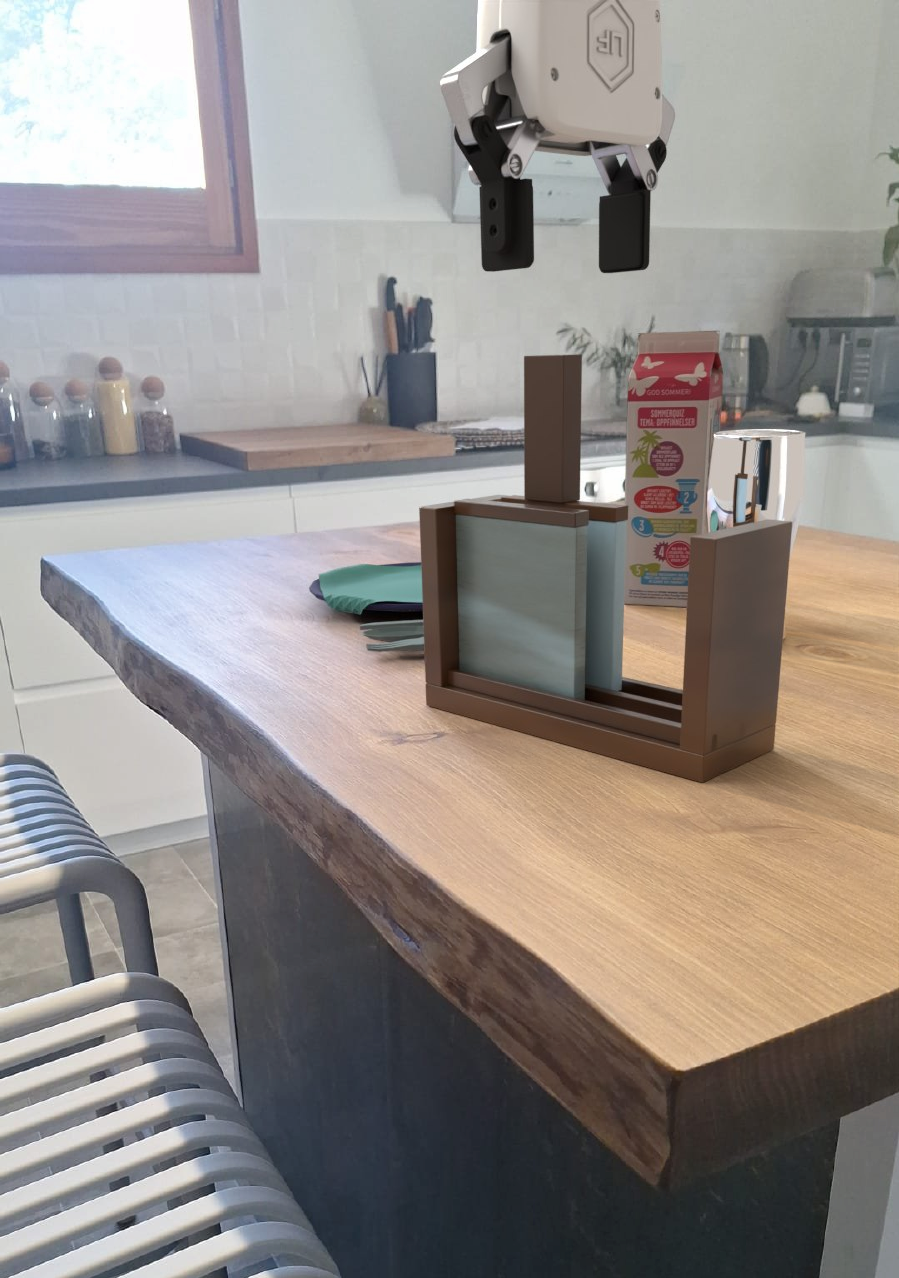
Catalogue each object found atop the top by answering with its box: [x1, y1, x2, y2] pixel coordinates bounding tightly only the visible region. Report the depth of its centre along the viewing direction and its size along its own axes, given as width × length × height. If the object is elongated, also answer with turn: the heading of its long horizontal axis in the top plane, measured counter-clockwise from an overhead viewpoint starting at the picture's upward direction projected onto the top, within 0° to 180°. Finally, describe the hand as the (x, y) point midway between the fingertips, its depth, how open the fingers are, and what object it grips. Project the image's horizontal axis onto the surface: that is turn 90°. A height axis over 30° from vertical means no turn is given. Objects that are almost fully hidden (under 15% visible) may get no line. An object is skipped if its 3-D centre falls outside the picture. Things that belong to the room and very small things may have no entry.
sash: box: [501, 353, 628, 691], centre depth 67 cm, size 2×9×19 cm, turn 44°
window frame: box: [418, 494, 792, 783], centre depth 66 cm, size 7×21×13 cm, turn 44°
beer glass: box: [706, 428, 807, 640], centre depth 85 cm, size 7×7×15 cm
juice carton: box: [624, 330, 724, 608], centre depth 97 cm, size 7×7×22 cm
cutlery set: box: [308, 561, 424, 653], centre depth 98 cm, size 20×30×2 cm, turn 8°
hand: (568, 270), depth 62 cm, fingers open, 9 cm apart
